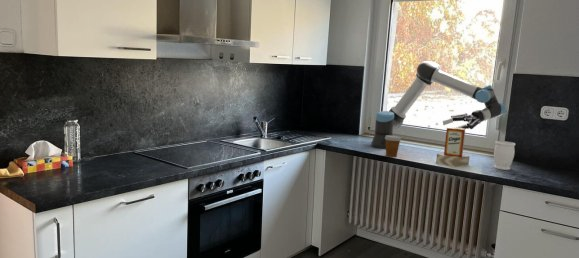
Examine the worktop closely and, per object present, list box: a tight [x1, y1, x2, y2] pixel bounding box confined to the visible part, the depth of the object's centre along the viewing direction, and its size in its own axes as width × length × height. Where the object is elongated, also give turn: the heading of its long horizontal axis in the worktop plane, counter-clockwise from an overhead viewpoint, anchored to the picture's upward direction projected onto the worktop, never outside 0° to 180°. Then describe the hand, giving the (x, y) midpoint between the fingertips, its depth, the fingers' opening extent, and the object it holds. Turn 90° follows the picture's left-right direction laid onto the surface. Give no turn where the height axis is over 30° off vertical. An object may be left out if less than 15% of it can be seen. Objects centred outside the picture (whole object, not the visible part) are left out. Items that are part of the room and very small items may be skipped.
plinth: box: [435, 152, 471, 168], centre depth 260 cm, size 12×14×5 cm
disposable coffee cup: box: [385, 134, 401, 158], centre depth 273 cm, size 10×10×12 cm
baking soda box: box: [443, 126, 466, 157], centre depth 258 cm, size 10×6×16 cm
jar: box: [493, 140, 516, 171], centre depth 253 cm, size 11×10×15 cm
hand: (449, 126), depth 270 cm, fingers open, 13 cm apart
